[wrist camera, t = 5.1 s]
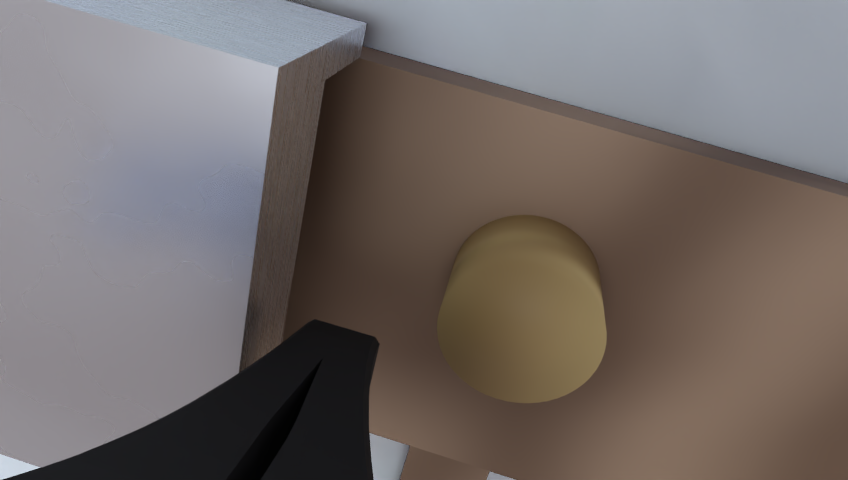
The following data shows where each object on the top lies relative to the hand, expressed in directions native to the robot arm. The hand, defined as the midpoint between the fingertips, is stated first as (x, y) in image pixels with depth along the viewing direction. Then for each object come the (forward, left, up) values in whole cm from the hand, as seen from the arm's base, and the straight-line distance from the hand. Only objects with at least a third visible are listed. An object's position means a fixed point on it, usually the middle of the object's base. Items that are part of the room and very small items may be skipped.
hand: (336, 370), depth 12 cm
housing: (+5, -1, -2) cm, 5 cm away
